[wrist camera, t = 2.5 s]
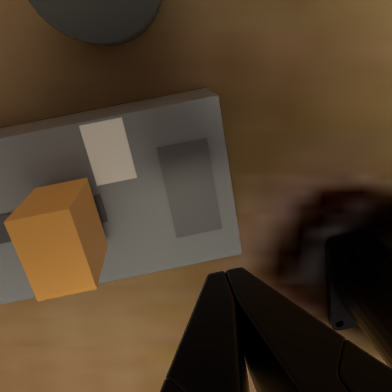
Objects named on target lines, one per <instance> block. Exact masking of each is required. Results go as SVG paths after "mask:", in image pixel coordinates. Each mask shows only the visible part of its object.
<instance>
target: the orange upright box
mask: <svg viewBox="0 0 392 392" xmlns="http://www.w3.org/2000/svg"><path fill="white" fill-rule="evenodd" d="M4 225H5V227H6V229H7V232H8V234H9V236H10V239H11V241H12V243H13V245H14V248H15V250H16V252H17V255H18V257H19V259H20V262H21V264H22V266H23V269H24V271H25V273H26V276H27V278H28V280H29V283H30V285H31V287H32V290H33V292H34V294H35V297H36V299H37V301H43V300H47V299H52V298H57V297H62V296H66V295H71V294H76V293H81V292H85V291H90V290H95V289H97V286H98V283H99V279H100V275H101V271H102V267H103V263H104V259H105V255H106V252H107V248H108V243H107V240H106V237H105V233H104V230H103V227H102V224H101V221H100V217H99V214H98V211H97V208H96V205H95V201H94V198H93V195H92V192H91V189H90V185H89V182H88V179H87V178H82V179H77V180H72V181H67V182H62V183H58V184H53V185H48V186H43V187H38V188H35V189H34V190H33V191H32V192H31V193H30V194H29V195H28V196H27V197H26V198H25V199H24V201H23V202H22V203H21V204H20V205H19V206H18V207H17V208H16V209H15V210H14V211H13V212H12V214H11V215H10V216H9V217H8V218H7V219H6V220H5V221H4Z"/></svg>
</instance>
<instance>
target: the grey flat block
mask: <svg viewBox="0 0 392 392" xmlns="http://www.w3.org/2000/svg"><path fill="white" fill-rule="evenodd" d="M82 178H87V179H88V182H89V185H90V189H91V192H92V195H93V198H94V201H95V205H96V208H97V211H98V214H99V217H100V221H101V224H102V227H103V230H104V233H105V237H106V240H107V243H108V248H107V252H106V255H105V259H104V263H103V267H102V271H101V275H100V279H99V283H98V284H101V283H106V282H110V281H115V280H120V279H125V278H129V277H134V276H139V275H144V274H148V273H153V272H158V271H163V270H167V269H172V268H177V267H182V266H186V265H191V264H196V263H201V262H206V261H210V260H215V259H220V258H225V257H229V256H234V255H239V254H242V250H241V243H240V236H239V230H238V223H237V216H236V209H235V203H234V196H233V189H232V183H231V176H230V169H229V163H228V156H227V149H226V143H225V136H224V129H223V122H222V116H221V109H220V102H219V96H218V95H217V94H216V93H214V92H212V91H211V90H209V89H208V88H202V89H197V90H192V91H187V92H182V93H177V94H171V95H166V96H161V97H156V98H151V99H146V100H141V101H136V102H131V103H126V104H120V105H115V106H110V107H105V108H100V109H95V110H90V111H85V112H80V113H75V114H70V115H64V116H59V117H54V118H49V119H44V120H39V121H34V122H29V123H24V124H19V125H14V126H8V127H3V128H0V305H1V304H6V303H11V302H15V301H20V300H25V299H30V298H34V297H35V294H34V292H33V290H32V287H31V285H30V283H29V280H28V278H27V276H26V273H25V271H24V269H23V266H22V264H21V262H20V259H19V257H18V255H17V252H16V250H15V248H14V245H13V243H12V241H11V239H10V236H9V234H8V232H7V229H6V227H5V225H4V221H5V220H6V219H7V218H8V217H9V216H10V215H11V214H12V212H13V211H14V210H15V209H16V208H17V207H18V206H19V205H20V204H21V203H22V202H23V201H24V199H25V198H26V197H27V196H28V195H29V194H30V193H31V192H32V191H33V190H34V189H35V188H38V187H43V186H48V185H53V184H58V183H62V182H67V181H72V180H77V179H82Z"/></svg>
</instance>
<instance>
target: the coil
mask: <svg viewBox="0 0 392 392" xmlns="http://www.w3.org/2000/svg"><path fill="white" fill-rule="evenodd" d="M29 2H30V3H31V5H32V6H33V7H34V9H35V10H36V11H37V12H38V13H39V15H40V16H41V17H42V18H43V19H44V20H45V21H46V22H47V23H49V24H50V25H51V26H53V27H54V28H55V29H57V30H58V31H60V32H62V33H63V34H65V35H67V36H69V37H72V38H74V39H77V40H81V41H84V42H89V43H94V44H100V45H118V44H122V43H126V42H128V41H130V40H133V39H134V38H136V37H138V36H139V35H141V34H142V33H143V32H144V31H145V30H146V29H147V28H148V27H149V26H150V25H151V23H152V22H153V20H154V19H155V17H156V15H157V13H158V11H159V8H160V5H161V2H162V0H29Z"/></svg>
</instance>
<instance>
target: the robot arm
mask: <svg viewBox="0 0 392 392" xmlns="http://www.w3.org/2000/svg"><path fill="white" fill-rule="evenodd" d="M336 244H338V246H337V247H336V248H333V246H334V245H336ZM326 267H327V289H328V311H329V323H330V325H331V326H332V328H333V329H334V330H343V329H348V328H352V327H357V326H359V327H360V328H361V330H362V331H363V332H364V334H365V335H366V336H367V338H368V339H369V340H370V342H371V343H372V344H373V346H374V347H375V349H376V350H377V351H378V353H379V354H380V355H381V357H382V358H383V359H384V361H385V362H386V363H387V365H388V366H389V367H388V366H387V365H385V364H384V363H382V362H380V361H379V360H377V359H376V358H374V357H373V356H371V355H370V354H368V353H367V352H365V351H364V350H362V349H361V348H359V347H358V346H356V345H355V344H353V343H352V342H350V341H349V340H345V338H344V337H343V336H341V335H340V334H339V333H337V332H336V331H334V330H333V329H331V328H330V327H328V326H327V325H325V324H324V323H323V322H321V321H320V320H318V319H317V318H315V317H314V316H312V315H311V314H309V313H308V312H307V311H305V310H304V309H302V308H301V307H299V306H298V305H296V304H295V303H293V302H292V301H291V300H289V299H288V298H286V297H285V296H283V295H282V294H280V293H279V292H278V291H276V290H275V289H273V288H272V287H270V286H269V285H267V284H266V283H264V282H263V281H262V280H260V279H259V278H257V277H256V276H254V275H253V274H251V273H250V272H248V271H247V270H246V269H244V268H242V267H239V268H235V269H230V270H227V271H226V273H225V272H223V271H221V272H216V273H211V274H209V275H208V276H207V278H206V280H205V283H204V285H203V288H202V290H201V293H200V295H199V297H198V300H197V302H196V305H195V307H194V310H193V312H192V315H191V317H190V320H189V322H188V324H187V327H186V329H185V332H184V334H183V337H182V339H181V342H180V344H179V346H178V349H177V351H176V354H175V356H174V359H173V361H172V364H171V366H170V369H169V371H168V373H167V376H166V379H165V380H164V383H163V385H162V388H161V390H160V392H250V390H249V382H248V375H247V368H246V364H247V367H248V370H249V373H250V376H251V378H252V381H253V383H254V386H255V389H256V391H257V392H392V223H390V224H385V225H380V226H375V227H371V228H367V229H365V230H363V231H358V232H353V233H348V234H344V235H339V236H334V237H331V238H330V239H329V240H328V241H327V242H326ZM338 321H339V322H338ZM245 361H246V362H245Z"/></svg>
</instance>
